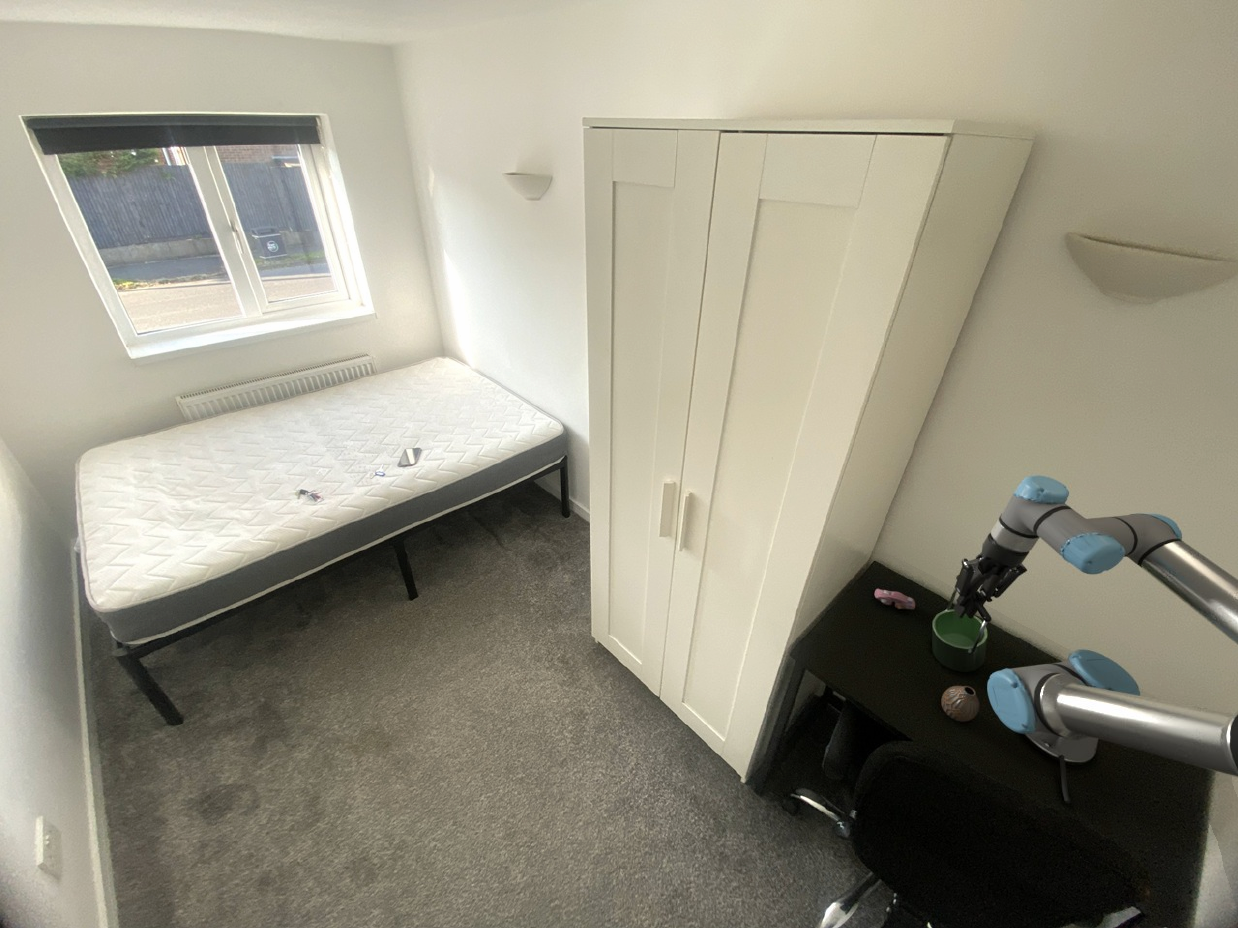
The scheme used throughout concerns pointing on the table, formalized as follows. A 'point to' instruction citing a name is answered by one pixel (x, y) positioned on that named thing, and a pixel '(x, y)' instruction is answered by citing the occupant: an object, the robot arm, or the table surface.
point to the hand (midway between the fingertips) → (962, 613)
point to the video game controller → (895, 599)
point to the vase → (960, 703)
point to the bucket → (960, 637)
